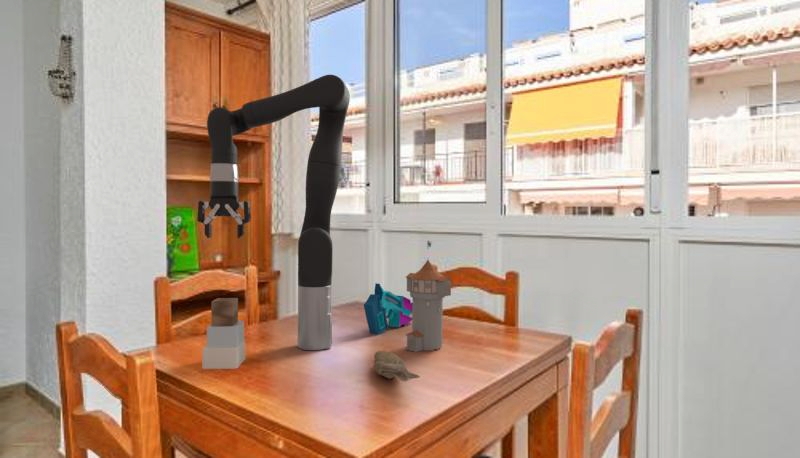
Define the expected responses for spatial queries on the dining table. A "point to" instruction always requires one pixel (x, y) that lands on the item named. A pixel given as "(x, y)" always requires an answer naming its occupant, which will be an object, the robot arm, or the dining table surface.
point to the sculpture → (391, 366)
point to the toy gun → (386, 310)
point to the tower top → (225, 336)
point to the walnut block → (224, 312)
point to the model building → (427, 307)
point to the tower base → (223, 357)
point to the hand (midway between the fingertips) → (224, 237)
